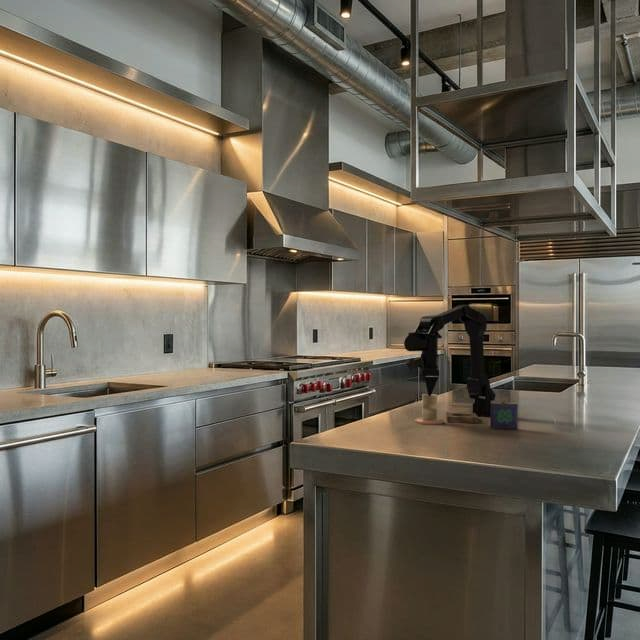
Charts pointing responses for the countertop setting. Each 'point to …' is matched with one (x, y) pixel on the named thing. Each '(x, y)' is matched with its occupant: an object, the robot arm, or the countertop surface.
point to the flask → (504, 415)
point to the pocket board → (461, 417)
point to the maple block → (429, 407)
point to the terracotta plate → (429, 421)
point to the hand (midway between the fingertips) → (429, 394)
